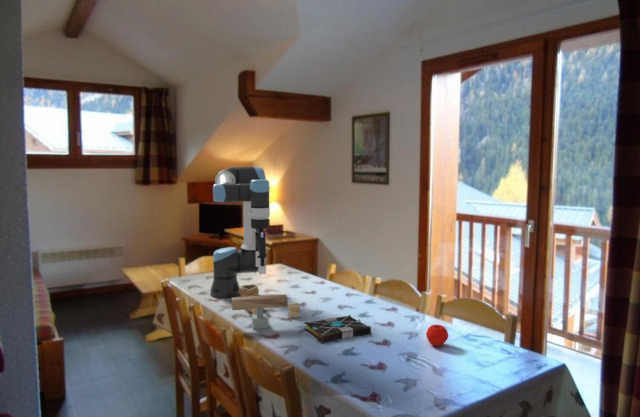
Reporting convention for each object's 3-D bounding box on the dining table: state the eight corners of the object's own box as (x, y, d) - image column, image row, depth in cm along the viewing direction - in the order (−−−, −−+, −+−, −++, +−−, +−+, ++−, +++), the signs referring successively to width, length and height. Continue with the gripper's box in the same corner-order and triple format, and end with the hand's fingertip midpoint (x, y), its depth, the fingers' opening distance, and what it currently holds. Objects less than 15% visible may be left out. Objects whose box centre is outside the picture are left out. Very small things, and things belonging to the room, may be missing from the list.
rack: (252, 317, 206) (252, 305, 206) (297, 313, 211) (297, 302, 210) (253, 320, 201) (253, 309, 201) (299, 317, 206) (299, 306, 205)
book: (322, 344, 176) (322, 331, 175) (303, 330, 191) (303, 318, 190) (371, 335, 185) (372, 322, 185) (350, 322, 200) (350, 311, 200)
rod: (231, 307, 193) (231, 297, 193) (285, 303, 198) (285, 294, 198) (232, 310, 189) (232, 300, 189) (287, 306, 194) (287, 297, 194)
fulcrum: (251, 324, 197) (251, 305, 196) (266, 323, 198) (266, 304, 197) (253, 329, 191) (252, 309, 190) (268, 328, 192) (267, 308, 192)
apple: (444, 350, 169) (444, 330, 168) (422, 346, 173) (423, 326, 172) (450, 343, 176) (451, 324, 175) (429, 339, 180) (430, 320, 179)
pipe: (246, 315, 208) (246, 293, 208) (236, 305, 223) (236, 284, 222) (266, 312, 212) (266, 290, 211) (255, 303, 227) (255, 282, 226)
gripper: (248, 215, 203) (249, 264, 205) (253, 222, 178) (253, 277, 180) (266, 214, 204) (266, 263, 206) (273, 221, 180) (273, 276, 182)
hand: (260, 270), depth 193 cm, fingers open, 13 cm apart
